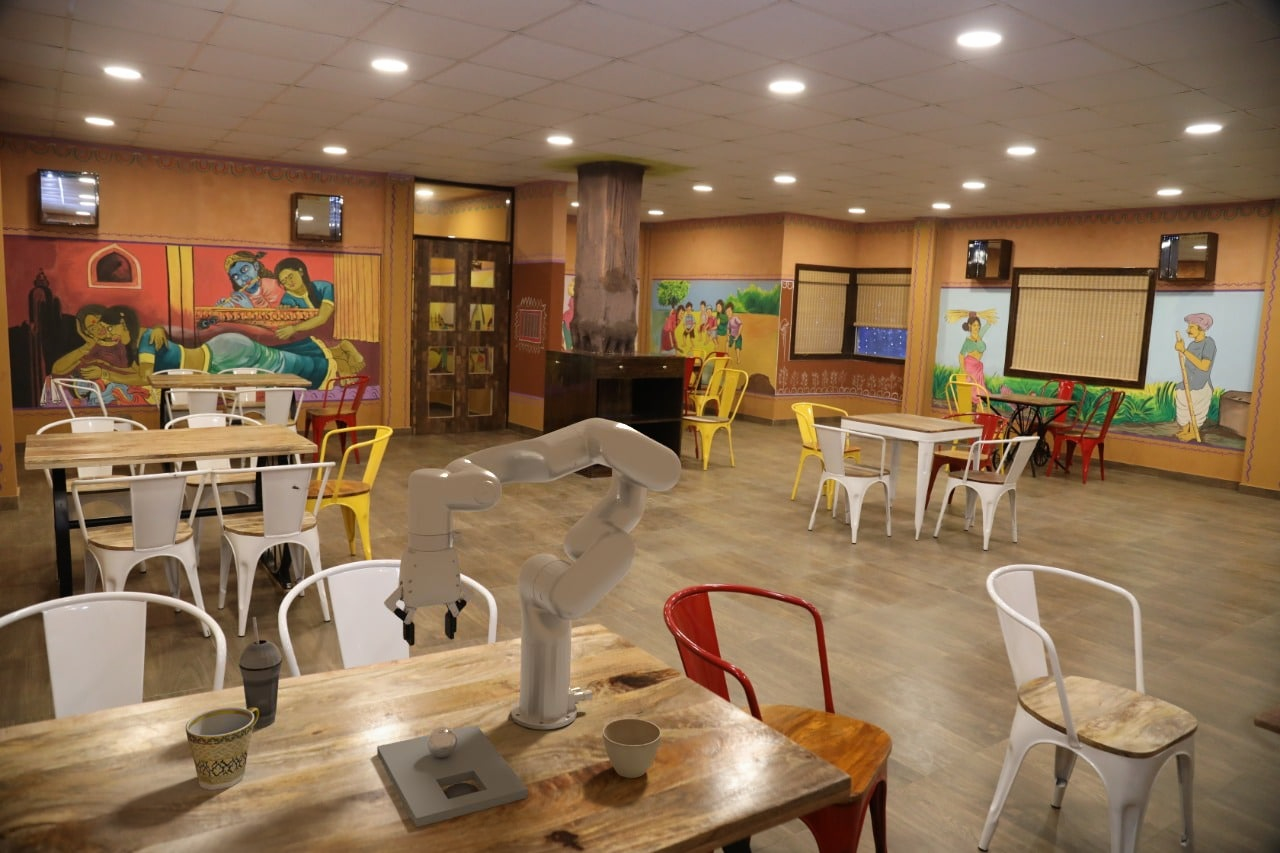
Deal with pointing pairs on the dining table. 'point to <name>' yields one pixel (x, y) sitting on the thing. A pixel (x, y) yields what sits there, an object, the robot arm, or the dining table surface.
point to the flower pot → (631, 745)
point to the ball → (442, 742)
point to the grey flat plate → (450, 777)
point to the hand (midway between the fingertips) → (430, 639)
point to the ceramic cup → (221, 745)
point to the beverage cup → (261, 678)
